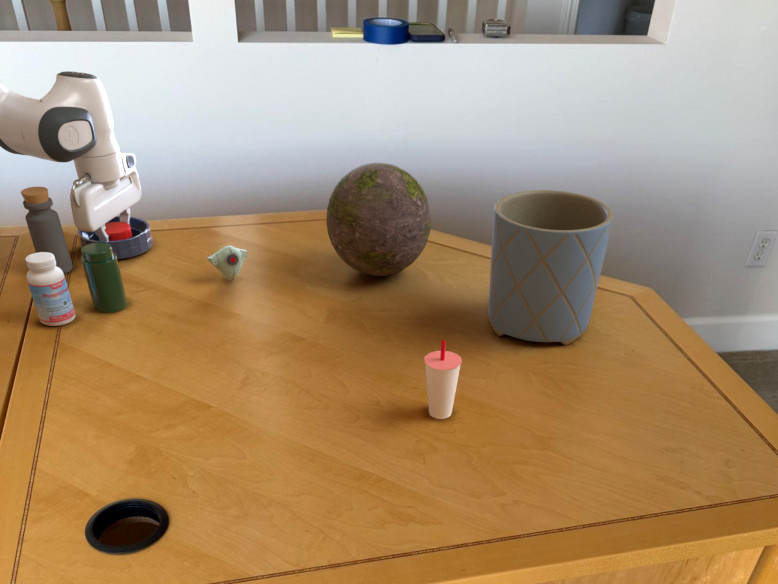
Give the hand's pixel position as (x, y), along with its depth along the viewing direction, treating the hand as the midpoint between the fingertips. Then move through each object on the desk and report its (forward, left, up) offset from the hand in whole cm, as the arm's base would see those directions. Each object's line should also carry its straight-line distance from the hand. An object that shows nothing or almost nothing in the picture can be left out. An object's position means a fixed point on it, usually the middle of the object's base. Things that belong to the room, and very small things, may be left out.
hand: (116, 237), depth 159 cm
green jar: (+16, -22, -2) cm, 27 cm away
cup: (+84, -29, -2) cm, 89 cm away
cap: (0, 0, +2) cm, 2 cm away
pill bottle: (+11, -30, -2) cm, 32 cm away
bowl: (0, 0, -2) cm, 2 cm away
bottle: (-4, -14, -2) cm, 14 cm away
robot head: (+30, -3, -2) cm, 30 cm away
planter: (+89, +5, -2) cm, 89 cm away
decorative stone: (+54, +13, -2) cm, 55 cm away
